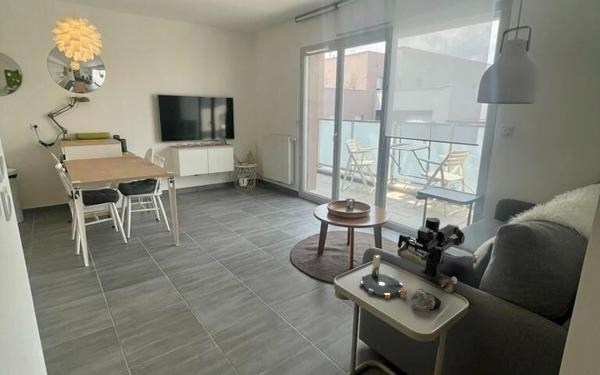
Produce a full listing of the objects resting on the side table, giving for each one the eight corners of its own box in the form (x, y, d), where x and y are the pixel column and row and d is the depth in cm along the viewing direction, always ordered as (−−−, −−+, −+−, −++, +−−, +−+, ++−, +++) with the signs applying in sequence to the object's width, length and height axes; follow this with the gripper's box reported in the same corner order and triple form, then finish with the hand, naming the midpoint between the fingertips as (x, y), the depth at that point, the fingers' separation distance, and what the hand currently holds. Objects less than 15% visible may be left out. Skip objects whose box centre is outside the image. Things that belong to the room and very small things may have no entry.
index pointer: (400, 295, 131) (401, 287, 130) (405, 298, 130) (406, 290, 129) (398, 297, 130) (399, 289, 129) (403, 299, 128) (405, 291, 128)
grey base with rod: (373, 272, 148) (376, 250, 145) (409, 288, 136) (413, 264, 134) (351, 285, 135) (354, 261, 133) (389, 304, 124) (393, 277, 121)
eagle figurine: (434, 279, 144) (433, 284, 136) (446, 268, 142) (445, 273, 134) (448, 292, 142) (447, 298, 134) (461, 282, 140) (461, 287, 132)
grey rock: (434, 307, 129) (440, 319, 119) (406, 297, 131) (410, 307, 121) (440, 292, 129) (447, 302, 119) (412, 281, 130) (416, 291, 120)
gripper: (410, 219, 146) (392, 228, 135) (452, 233, 134) (437, 244, 123) (406, 241, 149) (388, 252, 139) (447, 257, 137) (432, 270, 126)
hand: (410, 254), depth 132 cm, fingers open, 9 cm apart
